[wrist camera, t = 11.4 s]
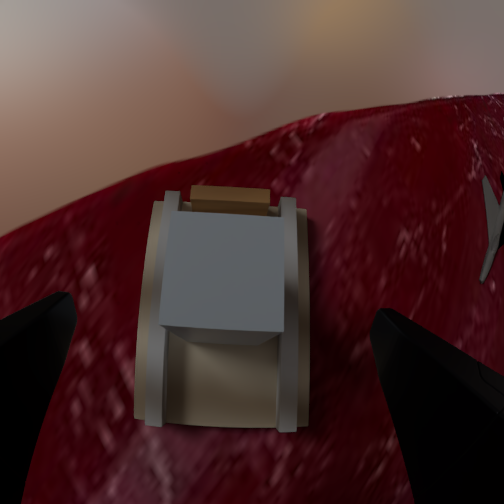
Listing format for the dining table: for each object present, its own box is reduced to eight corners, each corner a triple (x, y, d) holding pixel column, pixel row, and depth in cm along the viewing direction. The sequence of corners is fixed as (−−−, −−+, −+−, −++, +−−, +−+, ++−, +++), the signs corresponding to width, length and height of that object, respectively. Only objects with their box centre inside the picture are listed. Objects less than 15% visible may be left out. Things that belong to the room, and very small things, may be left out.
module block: (257, 345, 19) (283, 331, 11) (187, 341, 19) (158, 324, 11) (259, 273, 21) (284, 210, 13) (192, 269, 21) (172, 204, 12)
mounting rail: (304, 423, 19) (319, 433, 16) (138, 416, 18) (122, 425, 15) (303, 215, 24) (315, 191, 21) (156, 207, 23) (147, 182, 20)
